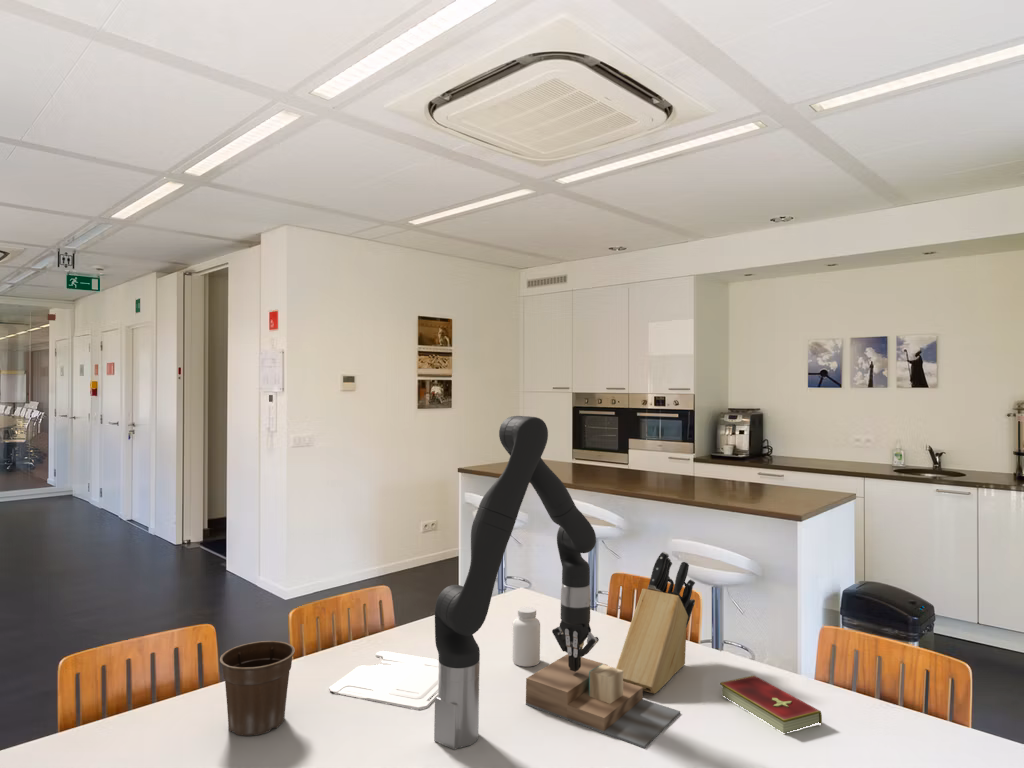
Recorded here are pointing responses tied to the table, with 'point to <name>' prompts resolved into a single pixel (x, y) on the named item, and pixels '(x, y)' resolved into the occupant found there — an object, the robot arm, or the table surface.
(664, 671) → the knife block
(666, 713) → the walnut staircase
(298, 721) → the table surface
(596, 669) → the maple cube
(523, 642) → the pill bottle
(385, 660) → the tray
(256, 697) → the plant pot
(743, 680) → the hardcover book
